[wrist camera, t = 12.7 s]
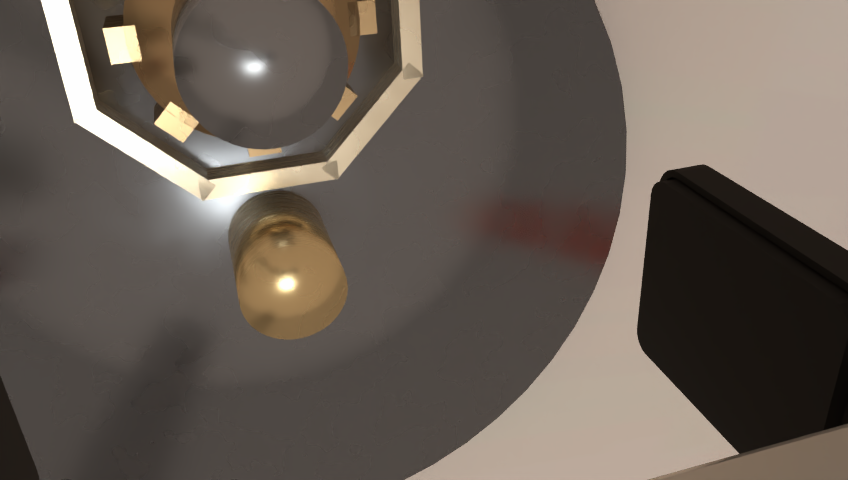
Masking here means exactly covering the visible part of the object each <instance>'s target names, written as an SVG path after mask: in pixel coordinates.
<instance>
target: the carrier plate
mask: <svg viewBox="0 0 848 480" xmlns="http://www.w3.org/2000/svg"><path fill="white" fill-rule="evenodd" d="M124 1H125V0H0V376H1V378H2V381H3V384H4V386H5V389H6V391H7V394H8V396H9V399H10V402H11V404H12V407H13V409H14V412H15V414H16V417H17V420H18V422H19V425H20V427H21V430H22V433H23V435H24V438H25V440H26V443H27V445H28V448H29V451H30V453H31V456H32V458H33V461H34V463H35V466H36V469H37V472H38V475H39V480H405V479H406V478H408V477H410V476H412V475H414V474H416V473H418V472H420V471H422V470H424V469H425V468H427V467H429V466H431V465H433V464H434V463H436V462H438V461H439V460H441V459H442V458H444V457H445V456H447V455H448V454H450V453H451V452H453V451H454V450H456V449H457V448H459V447H461V446H462V445H464V444H465V443H467V442H468V441H469V440H470V439H472V438H473V437H474V436H475V435H477V434H478V433H479V432H480V431H482V430H483V429H484V428H485V427H487V426H488V425H489V424H490V423H492V422H493V421H494V420H495V419H497V418H498V417H499V416H500V415H501V414H502V413H503V412H504V411H505V410H506V409H507V408H508V407H509V406H510V405H511V404H512V403H513V402H514V401H516V400H517V399H518V398H519V397H520V396H521V395H522V394H523V393H524V392H525V391H526V390H527V389H528V387H529V386H530V385H531V384H532V383H533V382H534V380H535V379H536V378H537V377H538V376H539V374H540V373H541V372H542V371H543V370H544V369H545V367H546V366H547V365H548V364H549V363H550V361H551V360H552V359H553V358H554V356H555V355H556V353H557V352H558V350H559V349H560V347H561V346H562V344H563V343H564V341H565V340H566V338H567V337H568V336H569V334H570V333H571V331H572V330H573V328H574V327H575V325H576V323H577V321H578V319H579V318H580V316H581V314H582V312H583V310H584V308H585V306H586V304H587V303H588V301H589V299H590V297H591V295H592V293H593V291H594V289H595V286H596V284H597V282H598V279H599V277H600V274H601V272H602V269H603V267H604V264H605V262H606V259H607V257H608V254H609V251H610V247H611V243H612V240H613V236H614V232H615V229H616V225H617V221H618V218H619V214H620V207H621V200H622V194H623V187H624V180H625V173H626V121H625V112H624V103H623V93H622V86H621V82H620V78H619V73H618V69H617V65H616V61H615V57H614V53H613V49H612V45H611V42H610V39H609V37H608V34H607V31H606V29H605V26H604V24H603V21H602V19H601V16H600V14H599V11H598V9H597V6H596V4H595V1H594V0H375V8H376V21H377V33H376V34H368V35H360V39H359V48H358V52H357V57H356V61H355V64H354V66H353V69H352V72H351V74H350V76H349V78H348V80H347V83H348V84H349V85H350V86H351V88H352V89H353V90H354V92H355V93H356V94H357V98H356V99H355V100H354V101H353V103H352V104H351V105H350V106H349V107H348V109H347V110H346V111H345V112H344V114H343V115H342V116H341V117H340V119H339V120H338V121H337V120H336V119H335V118H333V117H332V116H331V117H330V118H329V119H328V120H327V122H326V123H325V124H324V125H323V126H322V127H321V128H319V129H318V130H317V131H316V132H315V133H313V134H312V135H310V136H308V137H307V138H305V139H303V140H301V141H299V142H297V143H294V144H292V145H289V146H285V147H281V150H282V153H275V154H268V155H262V156H255V157H249V153H248V150H247V148H244V147H240V146H237V145H233V144H231V143H228V142H226V141H224V140H221V139H220V138H218V137H215V136H211V135H208V134H205V133H202V132H200V131H198V130H195V129H194V130H193V131H192V132H191V134H190V135H189V136H188V137H187V139H186V140H185V141H184V143H183V142H181V141H180V140H178V139H177V138H175V137H174V136H172V135H170V134H169V133H167V132H166V131H164V130H163V129H161V128H160V127H158V126H157V125H155V124H154V106H155V105H156V103H157V102H156V101H155V99H154V98H153V97H152V96H151V94H150V93H149V92H148V91H147V89H146V88H145V87H144V85H143V83H142V82H141V80H140V78H139V77H138V75H137V73H136V71H135V69H134V67H133V64H132V62H129V63H121V64H112V65H111V61H110V57H109V53H108V49H107V45H106V40H105V36H104V32H103V25H104V22H105V18H106V16H113V15H123V10H124Z"/></svg>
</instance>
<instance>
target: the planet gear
mask: <svg viewBox="0 0 848 480" xmlns="http://www.w3.org/2000/svg"><path fill="white" fill-rule="evenodd" d="M103 32H104V36H105V40H106V45H107V49H108V53H109V57H110V61H111V65H112V64H121V63H129V62H132V64H133V67H134V69H135V71H136V73H137V75H138V77H139V78H140V80H141V82H142V83H143V85H144V87H145V88H146V89H147V91H148V92H149V93H150V94H151V96H152V97H153V98H154V99H155V101H156V102H157V103H156V105H155V106H154V124H155V125H157V126H158V127H160V128H161V129H163V130H164V131H166V132H167V133H169V134H170V135H172V136H174V137H175V138H177V139H178V140H180V141H181V142H183V143H184V141H185V140H186V139H187V137H188V136H189V135H190V134H191V132H192V131H193V130H194V129H195V130H198V131H200V132H202V133H205V134H208V135H211V136H215V137H218V138H220V139H221V140H224V141H226V142H228V143H231V144H233V145H237V146H240V147H244V148H247V150H248V153H249V157H255V156H262V155H268V154H275V153H282V150H281V147H285V146H289V145H292V144H294V143H297V142H299V141H301V140H303V139H305V138H307V137H308V136H310V135H312V134H313V133H315V132H316V131H317V130H318V129H319V128H321V127H322V126H323V125H324V124H325V123H326V122H327V120H328V119H329V118H330V117H331V116H332V117H333V118H335V119H336V120H337V121H338V120H339V119H340V117H341V116H342V115H343V114H344V112H345V111H346V110H347V109H348V107H349V106H350V105H351V104H352V103H353V101H354V100H355V99H356V98H357V94H356V93H355V92H354V90H353V89H352V88H351V86H350V85H349V84H348V83H347V80H348V78H349V76H350V74H351V72H352V69H353V66H354V64H355V61H356V57H357V52H358V48H359V39H360V35H368V34H376V33H377V21H376V8H375V0H125V1H124V10H123V15H113V16H106V18H105V22H104V25H103Z"/></svg>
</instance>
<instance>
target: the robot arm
mask: <svg viewBox="0 0 848 480" xmlns="http://www.w3.org/2000/svg"><path fill="white" fill-rule="evenodd" d="M637 335H638V340H639V343H640V346H641V348H642V350H643V351H644V352H645V354H646V355H647V356H648V357H649V358H650V359H651V360H652V361H653V362H654V363H655V364H656V366H657V367H658V368H659V369H660V370H661V371H662V372H663V373H664V374H665V375H666V376H667V377H668V378H669V379H670V380H671V381H672V383H673V384H674V385H675V386H676V387H677V388H678V389H679V390H680V391H681V392H682V393H683V394H684V395H685V396H686V397H687V398H688V399H689V401H690V402H691V403H692V404H693V405H694V406H695V407H696V408H697V409H698V410H699V411H700V412H701V413H702V414H703V415H704V416H705V418H706V419H707V420H708V421H709V422H710V423H711V424H712V425H713V426H714V427H715V428H716V429H717V430H718V431H719V432H720V433H721V435H722V436H723V437H724V438H725V439H726V440H727V441H728V442H729V443H730V444H731V445H732V446H733V447H734V448H735V449H736V450H737V452H738V453H739V454H738V455H734V456H731V457H727V458H724V459H720V460H716V461H713V462H709V463H706V464H702V465H699V466H695V467H692V468H688V469H684V470H681V471H677V472H674V473H670V474H667V475H663V476H660V477H656V478H652V479H649V480H848V250H846V249H844V248H843V247H841V246H839V245H838V244H836V243H834V242H833V241H831V240H829V239H828V238H826V237H824V236H823V235H821V234H820V233H818V232H816V231H815V230H813V229H811V228H810V227H808V226H806V225H805V224H803V223H801V222H800V221H798V220H796V219H795V218H793V217H791V216H790V215H788V214H786V213H785V212H783V211H781V210H780V209H778V208H777V207H775V206H773V205H772V204H770V203H768V202H767V201H765V200H763V199H762V198H760V197H758V196H757V195H755V194H753V193H752V192H750V191H748V190H747V189H745V188H743V187H742V186H740V185H738V184H737V183H735V182H734V181H732V180H730V179H729V178H727V177H725V176H724V175H722V174H720V173H719V172H717V171H715V170H714V169H712V168H710V167H709V166H706V165H697V166H691V167H686V168H680V169H675V170H669V171H667V172H665V173H664V174H663V176H662V178H661V179H660V182H657V183H656V184H655V185H654V187H653V188H652V193H651V200H650V210H649V220H648V229H647V239H646V249H645V258H644V268H643V277H642V287H641V297H640V306H639V316H638V325H637ZM0 480H39V475H38V472H37V469H36V466H35V463H34V461H33V458H32V456H31V453H30V451H29V448H28V445H27V443H26V440H25V438H24V435H23V433H22V430H21V427H20V425H19V422H18V420H17V417H16V414H15V412H14V409H13V407H12V404H11V402H10V399H9V396H8V394H7V391H6V389H5V386H4V384H3V381H2V378H1V376H0Z"/></svg>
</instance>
